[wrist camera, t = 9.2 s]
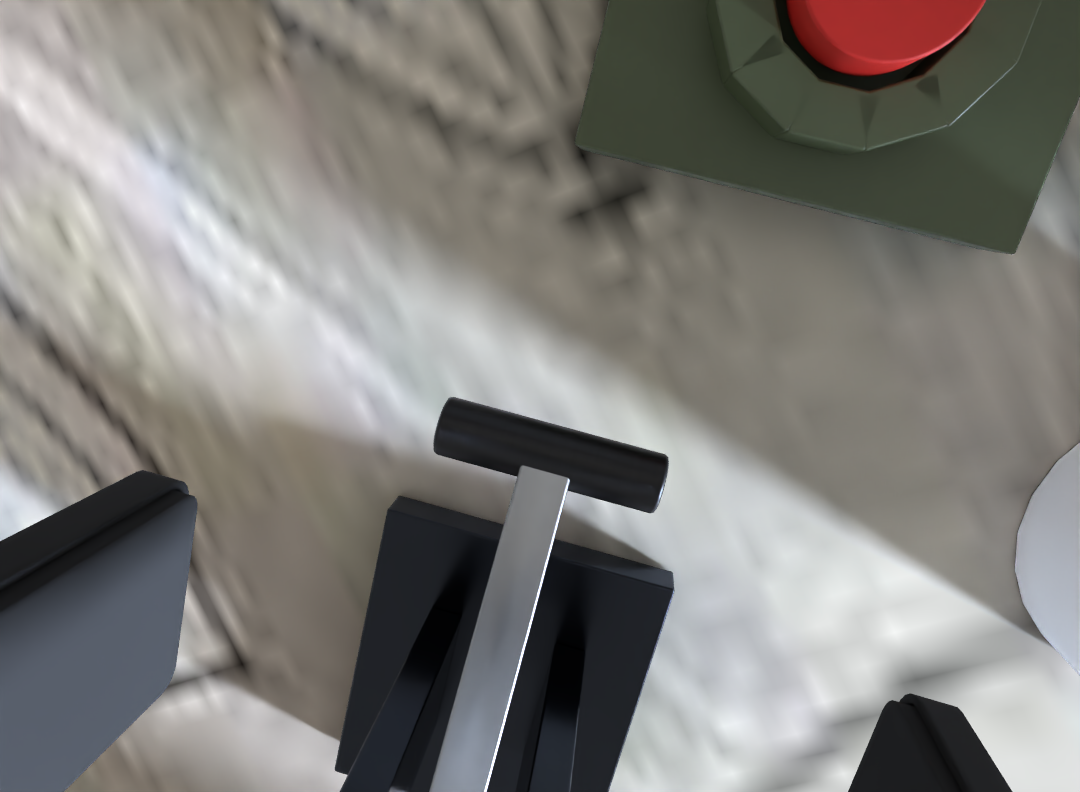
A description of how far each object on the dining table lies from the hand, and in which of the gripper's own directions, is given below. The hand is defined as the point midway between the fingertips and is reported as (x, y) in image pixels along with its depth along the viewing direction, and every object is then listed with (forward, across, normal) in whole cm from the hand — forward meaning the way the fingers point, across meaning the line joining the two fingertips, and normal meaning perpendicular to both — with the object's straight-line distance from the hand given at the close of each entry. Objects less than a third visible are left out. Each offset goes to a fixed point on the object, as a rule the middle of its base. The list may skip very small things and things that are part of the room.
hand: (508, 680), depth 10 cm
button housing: (+14, -3, -12) cm, 18 cm away
